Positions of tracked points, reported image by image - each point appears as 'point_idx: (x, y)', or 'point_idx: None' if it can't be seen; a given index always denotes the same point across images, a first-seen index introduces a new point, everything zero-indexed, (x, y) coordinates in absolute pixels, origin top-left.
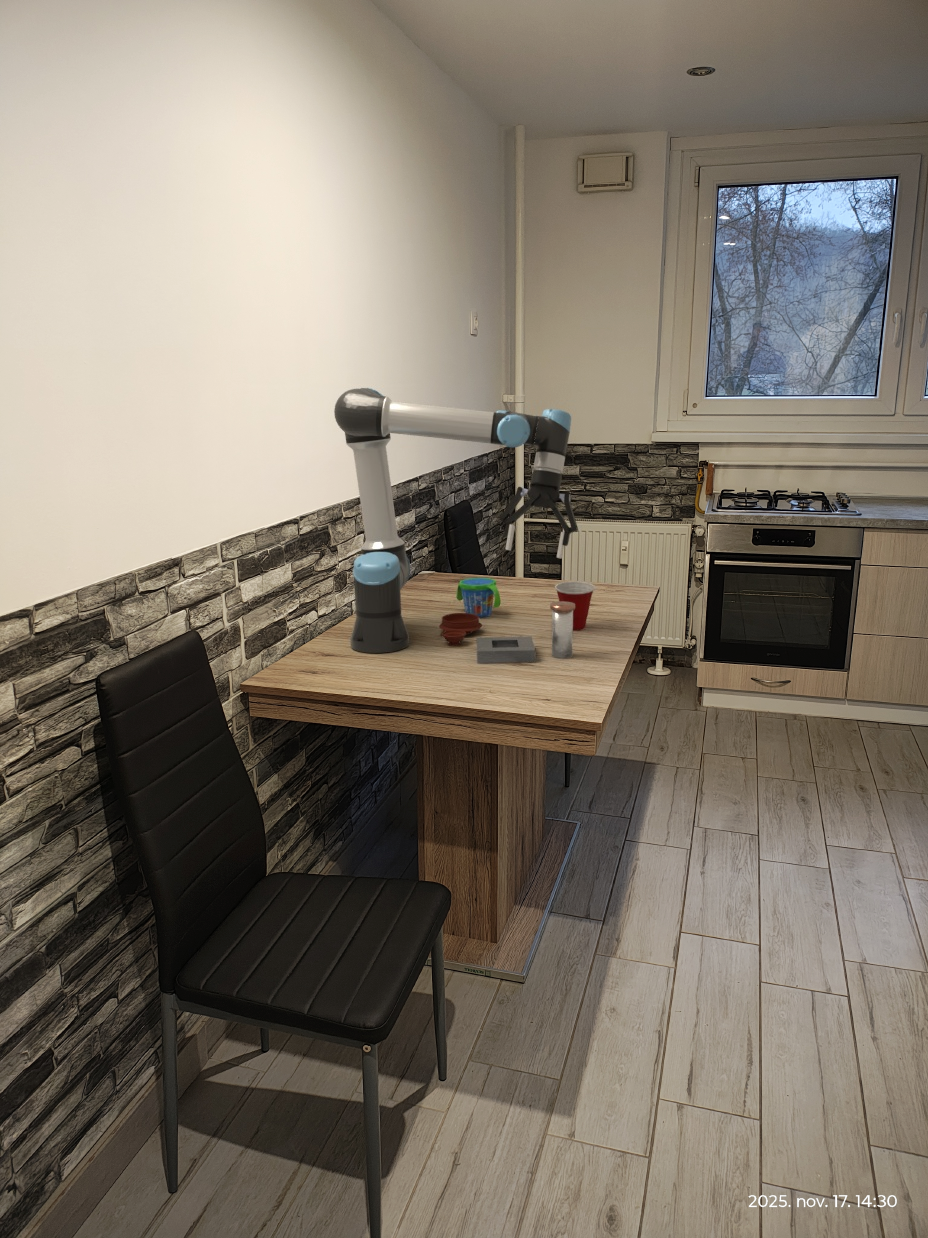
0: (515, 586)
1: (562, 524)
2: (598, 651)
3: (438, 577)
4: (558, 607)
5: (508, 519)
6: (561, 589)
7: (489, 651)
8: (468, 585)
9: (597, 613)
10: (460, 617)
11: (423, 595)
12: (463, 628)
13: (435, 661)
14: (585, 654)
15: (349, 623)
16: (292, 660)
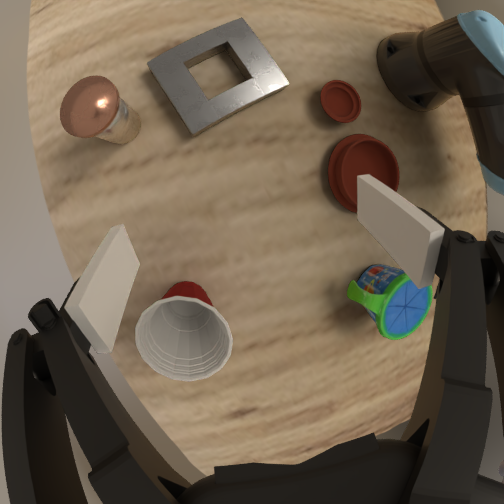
0: (365, 419)
1: (63, 348)
2: (81, 184)
3: None
4: (87, 77)
5: (472, 245)
6: (223, 340)
7: (222, 25)
8: None
9: (201, 387)
10: None
11: None
12: (347, 145)
13: (303, 18)
14: (91, 155)
15: (476, 161)
16: (432, 12)
